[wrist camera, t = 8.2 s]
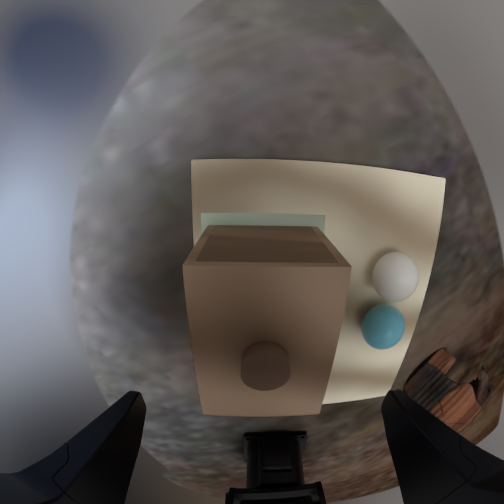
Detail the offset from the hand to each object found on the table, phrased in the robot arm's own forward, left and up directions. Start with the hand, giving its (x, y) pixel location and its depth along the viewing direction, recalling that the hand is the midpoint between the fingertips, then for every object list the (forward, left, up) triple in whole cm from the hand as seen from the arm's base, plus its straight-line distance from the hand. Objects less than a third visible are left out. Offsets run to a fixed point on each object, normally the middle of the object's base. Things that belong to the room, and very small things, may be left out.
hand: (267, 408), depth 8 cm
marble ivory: (+2, -8, -9) cm, 12 cm away
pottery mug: (-12, -18, -10) cm, 24 cm away
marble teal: (-2, -8, -9) cm, 12 cm away
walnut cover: (0, 0, -9) cm, 9 cm away
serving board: (-2, -4, -10) cm, 11 cm away
